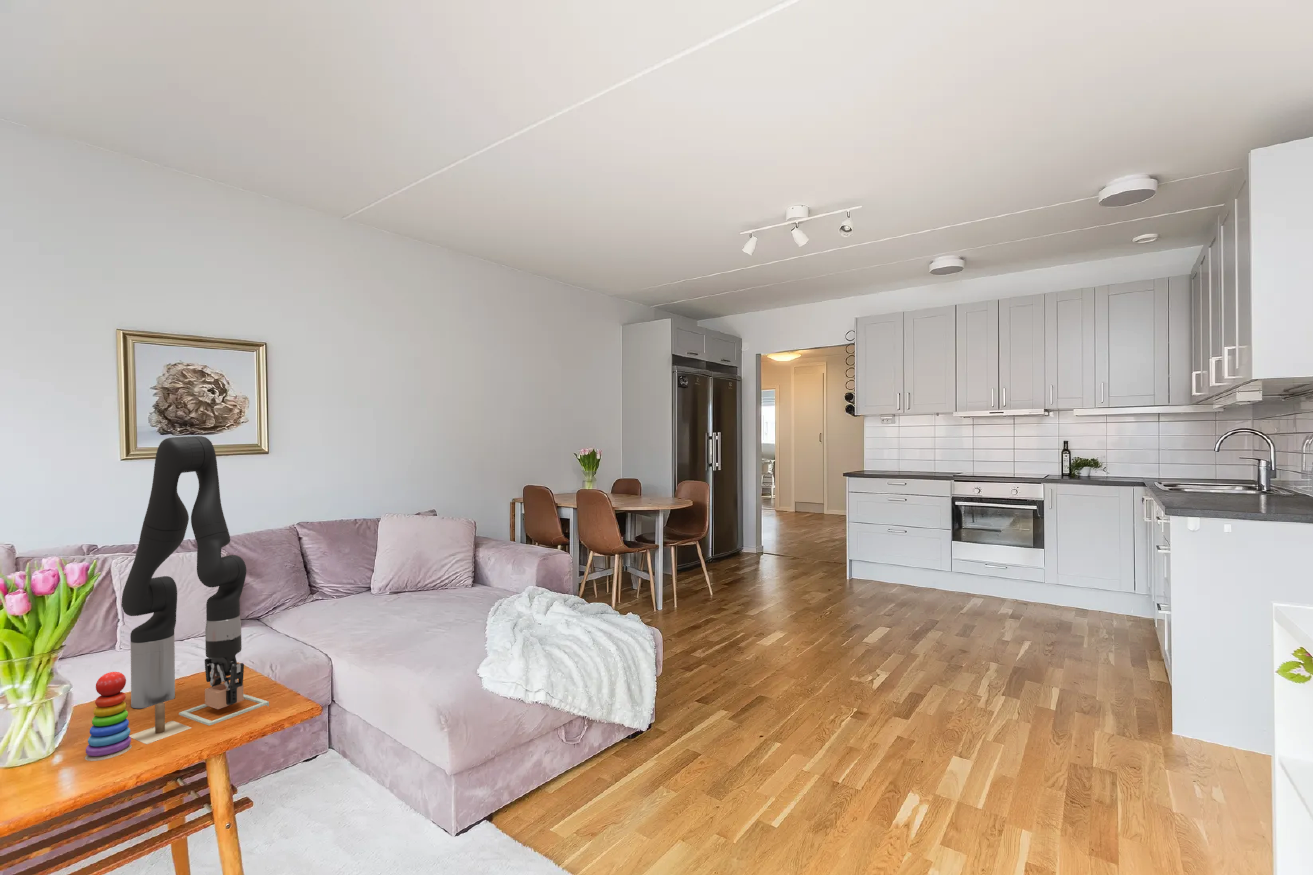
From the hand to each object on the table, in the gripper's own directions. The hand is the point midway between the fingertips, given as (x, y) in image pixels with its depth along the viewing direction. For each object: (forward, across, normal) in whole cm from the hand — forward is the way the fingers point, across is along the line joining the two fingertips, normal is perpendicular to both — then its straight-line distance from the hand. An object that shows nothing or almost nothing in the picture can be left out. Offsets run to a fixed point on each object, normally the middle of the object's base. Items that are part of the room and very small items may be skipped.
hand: (224, 701), depth 158 cm
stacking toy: (+4, +1, -24) cm, 24 cm away
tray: (+3, 0, 0) cm, 3 cm away
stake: (+3, 0, -14) cm, 14 cm away
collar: (0, 0, 0) cm, 0 cm away
